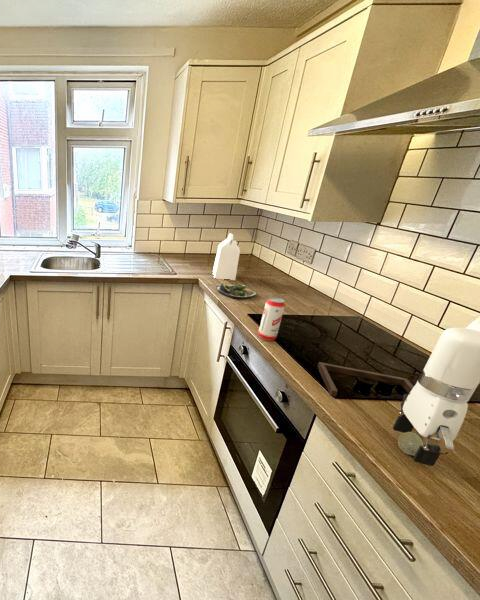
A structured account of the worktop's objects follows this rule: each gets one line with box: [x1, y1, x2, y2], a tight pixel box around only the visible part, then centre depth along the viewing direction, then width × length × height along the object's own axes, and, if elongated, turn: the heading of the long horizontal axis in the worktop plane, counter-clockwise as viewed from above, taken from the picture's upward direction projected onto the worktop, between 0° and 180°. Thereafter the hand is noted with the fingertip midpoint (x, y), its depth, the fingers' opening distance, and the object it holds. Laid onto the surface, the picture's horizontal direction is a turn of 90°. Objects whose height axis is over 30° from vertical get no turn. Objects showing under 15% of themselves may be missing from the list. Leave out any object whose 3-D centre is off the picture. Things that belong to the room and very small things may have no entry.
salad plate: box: [214, 283, 257, 300], centre depth 167 cm, size 19×18×5 cm
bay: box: [316, 361, 415, 398], centre depth 93 cm, size 22×16×2 cm
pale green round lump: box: [397, 431, 423, 457], centre depth 72 cm, size 4×5×5 cm
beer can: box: [257, 296, 286, 342], centre depth 119 cm, size 6×6×16 cm
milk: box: [212, 233, 241, 281], centre depth 189 cm, size 12×12×26 cm
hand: (411, 446), depth 72 cm, fingers open, 9 cm apart
